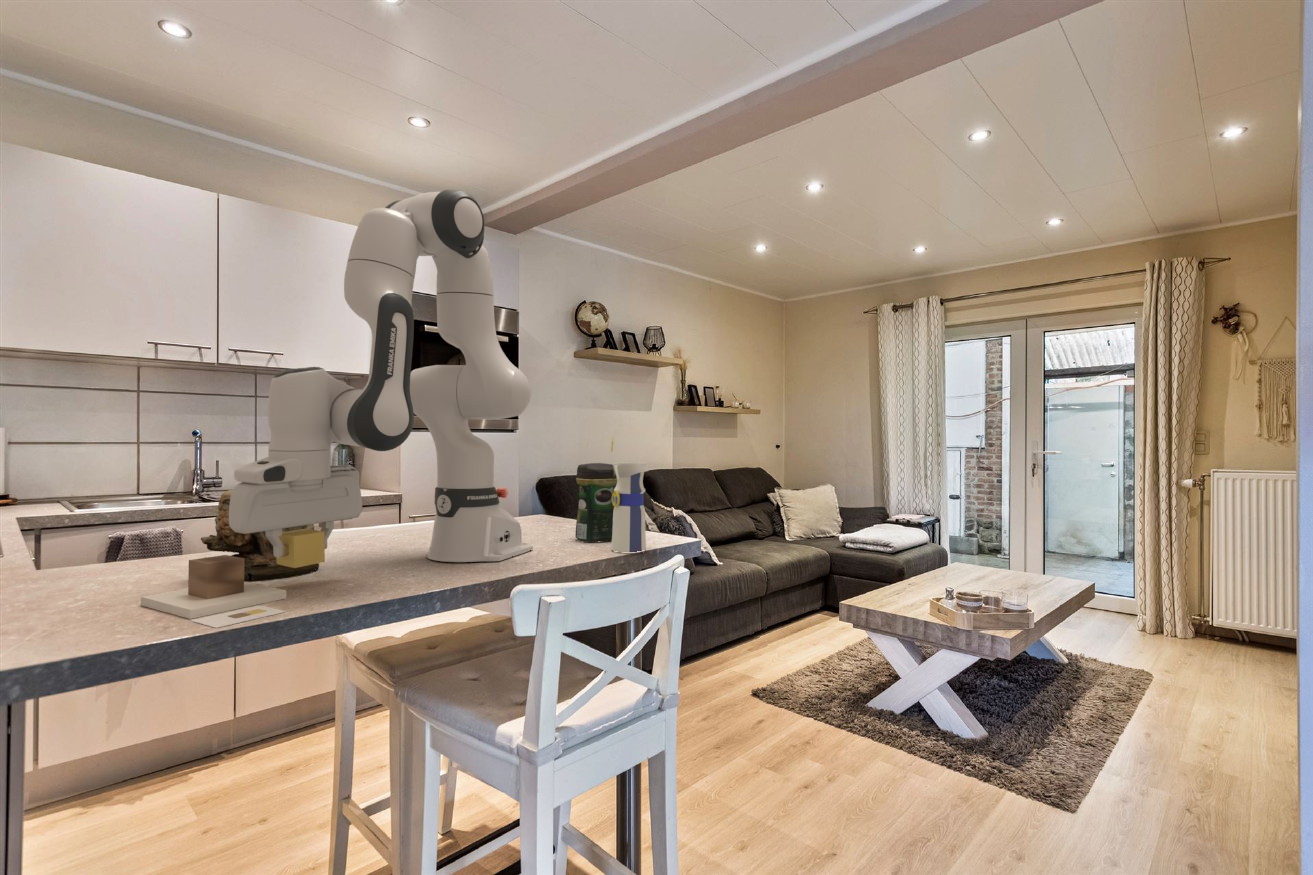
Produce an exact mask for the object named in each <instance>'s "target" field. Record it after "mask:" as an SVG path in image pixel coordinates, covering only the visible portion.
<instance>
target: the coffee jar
mask: <svg viewBox="0 0 1313 875" xmlns="http://www.w3.org/2000/svg"><path fill="white" fill-rule="evenodd" d="M612 464H613V463H612ZM612 464H610V463H603V462H593V463H592V462H591V463H583V464H579V465H578V466H577V468H576V475H575V476H576V477H575V481H576V484H577V488H578V505H577V513H576V514H577V516H576V525H575V539H576V540H577V541H579V542H581V541H583V542H589V543H599V542H598V541H604V542H608V541H609V542H610V541H612V531H613V510H614V506H613V504H612V494H613V492H614V489H615V487H616V484H617V477H616V474H615V475H614V470H613V465H612Z"/></svg>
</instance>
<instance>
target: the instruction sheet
mask: <svg viewBox="0 0 1313 875" xmlns="http://www.w3.org/2000/svg"><path fill="white" fill-rule="evenodd" d="M283 613H286V611H285V610H281V609H277V608H272V607H270V606H269V607H268V606H265V605H262V604H258V605H253V606H249V607H244V608H239V609H235V610H230V611H225V612H221V613H216V614H212V615H207V616H202V617H198V618H193V619H190V622H192V623H196V624H199V625H204V626H207V627H211V628H214V629H219V628H222V627H223V628H224V627H227V626H232V625H236V624H240V623H245V622H249V621H254V620H257V619H262V618H267V617H269V616H270V617H271V616H275V615H277V614H283Z"/></svg>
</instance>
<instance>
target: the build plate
mask: <svg viewBox="0 0 1313 875" xmlns="http://www.w3.org/2000/svg"><path fill="white" fill-rule="evenodd" d="M286 599H287V590H286V589H282V588H281V589H280V588H276V587H271V586H266V585H263V584H257V583H252V582H248V581H246V582H244V592H243V593H238V594H233V595H228V596H222V597H217V598H212V599H203V598H199V597H195V596H191V595H188V588H183V589H178V590H173V591H172V590H171V591H166V592H161V593H155V594H150V595H149V594H148V595H144V596H141V597H140V606H142V607H147V608H149V609H153V610H157V611H161V612H164V613H166V614H167V613H168V614H172V615H174V616H178V617H183V618H185V619H189V620H194V619H199V618H203V617H208V616H212V615H217V614H222V613H226V612H231V611H236V610H240V609H245V608H249V607H254V606H259V605H262V604H266V603H271V602H276V601H280V600H281V601H282V600H286Z"/></svg>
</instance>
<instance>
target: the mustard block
mask: <svg viewBox="0 0 1313 875" xmlns="http://www.w3.org/2000/svg"><path fill="white" fill-rule="evenodd" d="M278 537H279V539H280V540H281V542H282V544H285V545H289V550H288V552H289V555H288V556H284V557H279V558H278V557H277V564H279V565H283V566H288V567H292V568H297V567H302V566H307V565H312V564H317V563H319V564H321V563H325V560H326V559H325V557H326V556H325V554H326V553H325V551H326V549H325V536H324V531H321V530H318V529H314V530H313V529H307V528H306V529H300V530H293V531H286V532H282V535H281V536H278Z"/></svg>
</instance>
